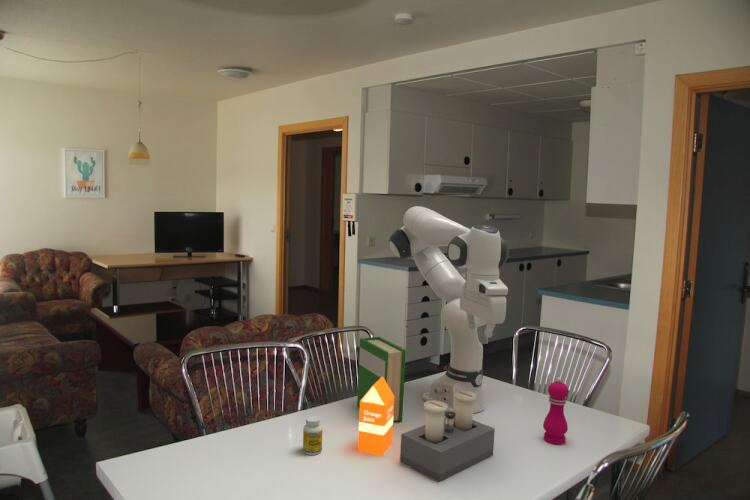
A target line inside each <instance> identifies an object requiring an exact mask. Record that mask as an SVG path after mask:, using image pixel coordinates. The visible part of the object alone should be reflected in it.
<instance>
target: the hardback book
mask: <svg viewBox="0 0 750 500" xmlns="http://www.w3.org/2000/svg"><path fill="white" fill-rule="evenodd" d="M406 354H407V350H406V349H405V348H403V347H401V346H399V345H397V344H394V343H392V342H390V341H388V340H387V339H385V338H383V337H381V336H374V337H373V336H372V337H371V336H370V337H362V338H359V353H358V355H359V357H358V358H359V359H358V378H357V380H358V381H357V382H358V383H357V399H356V400H357V401H356V402H357V403H356V407H358V409H360V401H361V400H362V398H363V397H364V396H365V395H366V393H367V392H368V391H369V390H370V388H371V387H372V386H373V385H374V384H375V383H376V382H377V381H378V380H379V379H380V378H381V377H382V376H383V378H384V379H385V381H386V383H387V385H388V386H389V388H390V390H391V392H392V393H393V395H394V411H393V422H395V421H397V422H398V424H399V423H403V413H404V409H403V408H404V393H405V374H406V372H405V371H406Z"/></svg>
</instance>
